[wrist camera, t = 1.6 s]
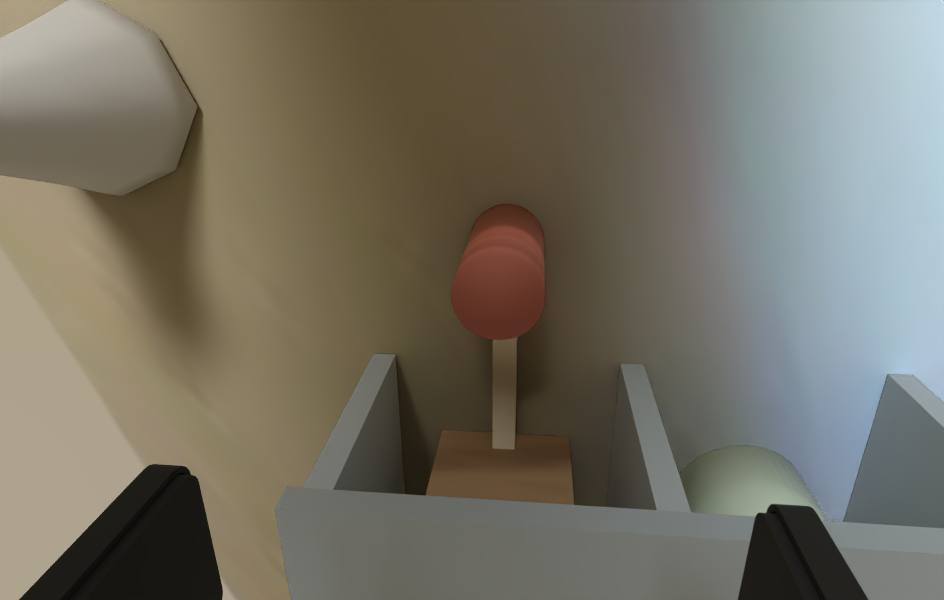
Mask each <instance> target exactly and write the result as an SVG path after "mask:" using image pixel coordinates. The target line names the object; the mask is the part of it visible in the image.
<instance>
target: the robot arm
mask: <svg viewBox="0 0 944 600" xmlns="http://www.w3.org/2000/svg"><path fill="white" fill-rule="evenodd" d="M222 595H223V590H222V584H221V579H220V575H219V571H218V566H217V562H216V557H215V553H214V548H213V544H212V539H211V535H210V530H209V526H208V521H207V517H206V512H205V508H204V503H203V499H202V495H201V490H200V486H199V482H198V479H197V478H196V477H195V476H193V475H191V474H190V471H189V470H188V469H187V467H184V466H173V465H158V464H153V465H149V466H148V467H146V468H145V469H144V470H143V471H142V472H141V473H140V474H139V475H138V476H137V477H136V478H135V480H133V482H131V483H130V485H129V486H128V487H127V488H126V489H125V490H124V491H123V492H122V493H121V494H120V495H119V496H118V497H117V498H116V499H115V500H114V501H113V502H112V503H111V504H110V505H109V506H108V507H107V509H106V510H105V511H104V512H103V513H102V514H101V515H100V516H99V517H98V518H97V519H96V520H95V521H94V522H93V523H92V524H91V525H90V526H89V527H88V528H87V530H85V532H84V533H83V534H82V535H81V536H80V537H79V538H78V539H77V540H76V541H75V542H74V543H73V544H72V545H71V546H70V547H69V548H68V549H67V550H66V551H65V552H64V553H63V555H61V557H60V558H59V559H58V560H57V561H56V562H55V563H54V564H53V565H52V566H51V567H50V568H49V569H48V570H47V571H46V572H45V573H44V574H43V575H42V576H41V577H40V579H39V580H38V581H37V582H36V583H35V584H34V585H33V586H32V587H31V588H30V589H29V590H28V591H27V592H26V593H25V594H24V595H23V596H22V597H21V598H20V599H19V600H222ZM738 600H868V598H867V596H866V595H865V593H864V591H863V590H862V588H861V586H860V585H859V583H858V581H857V580H856V578H855V576H854V575H853V573H852V571H851V570H850V568H849V566H848V564H847V563H846V561H845V559H844V558H843V556H842V554H841V553H840V551H839V549H838V548H837V546H836V544H835V543H834V541H833V539H832V538H831V536H830V534H829V533H828V531H827V529H826V528H825V526H824V524H823V523H822V521H821V519H820V518H819V516H818V514H817V513H816V511H815V510H814V509H813V508H812V507H810V506H800V505H784V504H770V506H769V507H768V509H767V512H766V513H758V514H757V515H756V517H755V521H754V525H753V530H752V535H751V539H750V544H749V549H748V553H747V558H746V563H745V568H744V572H743V577H742V582H741V586H740V591H739V596H738Z"/></svg>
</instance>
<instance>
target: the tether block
mask: <svg viewBox="0 0 944 600" xmlns="http://www.w3.org/2000/svg"><path fill="white" fill-rule="evenodd" d="M451 301H452V306H453V309H454V312H455V314H456V316H457V318H458V319H459V320H460V322H461V323H462V324H463V325H464V326H465V327H466V328H467V329H468V330H470V331H471V332H473V333H474V334H476V335H478V336H481V337H484V338H487V339H491V340H493V431H492V433H491V432H472V431H453V430H442V432H441V436H440V440H439V444H438V448H437V452H436V456H435V460H434V464H433V468H432V472H431V476H430V480H429V483H428V487H427V491H426V495H425V496H440V497H456V498H472V499H488V500H503V501H519V502H535V503H551V504H566V505H574V496H573V482H572V468H571V455H570V441H569V437H568V436H549V435H530V434H515V428H516V379H517V337H518V336H521V335H522V334H524V333H526V332H527V331H529V330H530V329H531V328H532V327H533V326H534V325H535V324H536V323H537V322H538V320H539V319H540V317H541V315H542V312H543V310H544V306H545V260H544V234H543V230H542V227H541V225H540V223H539V221H538V220H537V218H536V217H535V216H534V215H533V214H532V213H531V212H529V211H528V210H526V209H524V208H522V207H519V206H516V205H508V204H507V205H498V206H495V207H492V208H490V209H488V210H487V211H485V212H484V213H483V214H482V215H481V216H480V217H479V218H478V219H477V221H476V222H475V224H474V226H473V229H472V231H471V234H470V237H469V240H468V243H467V245H466V248H465V251H464V254H463V257H462V260H461V262H460V265H459V268H458V271H457V274H456V276H455V279H454V282H453V285H452V290H451Z"/></svg>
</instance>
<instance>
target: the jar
mask: <svg viewBox="0 0 944 600" xmlns="http://www.w3.org/2000/svg"><path fill="white" fill-rule="evenodd" d="M679 476H680V479H681V482H682V485H683V488H684V491H685V495H686V498H687V501H688V504H689V507H690V510H691V512H693V513H708V514H724V515H740V516H756V515H757V514H758V513H766V512H767V509H768V507H769V506H770V504H784V505H800V506H810V507H812V508H813V509H814V510H815V511H816V513H817V514H818V516H819V518H820V519H821V521H828V520H827V519H826V517H825V515H824V514H823V512H822V510H821V509H820V507H819V505H818V504H817V502H816V500H815V499H814V497H813V495H812V494H811V492H810V490H809V489H808V487H807V485H806V484H805V482H804V480H803V479H802V477H801V475H800V474H799V472H798V470H797V469H796V468H795V467H794V465H793V464H792V463H791V462H790V461H788V460H787V459H786V458H784V457H783V456H781V455H780V454H778V453H776V452H774V451H771V450H768V449H765V448H761V447H756V446H730V447H725V448H720V449H717V450H714V451H711V452H709V453H706V454H704V455H702V456H700V457H699V458H697V459H695V460H694V461H693V462H691V463H690V464H689V465H688V466H687V467H686V468H685V469H684V470H683V471H682V472H681V473H680V475H679Z"/></svg>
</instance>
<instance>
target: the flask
mask: <svg viewBox="0 0 944 600" xmlns="http://www.w3.org/2000/svg"><path fill="white" fill-rule="evenodd" d="M196 110H197V105H196V103H195V101H194V100H193V98H192V96H191V94H190V93H189V91H188V89H187V87H186V86H185V84H184V82H183V80H182V79H181V77H180V75H179V73H178V72H177V70H176V68H175V66H174V65H173V63H172V61H171V59H170V58H169V56H168V54H167V52H166V51H165V49H164V47H163V45H162V43H161V42H160V40H159V38H158V36H157V35H156V33H154V32H152V31H150V30H149V29H147V28H145V27H144V26H142V25H140V24H138V23H137V22H135V21H133V20H131V19H130V18H128V17H126V16H125V15H123V14H121V13H119V12H118V11H116V10H114V9H112V8H111V7H109V6H107V5H106V4H104V3H102V2H100V1H99V0H68V1H66V2H65V3H63V4H61V5H60V6H58V7H56V8H54V9H53V10H51V11H49V12H47V13H46V14H44V15H42V16H40V17H39V18H37V19H35V20H34V21H32V22H30V23H28V24H27V25H25V26H23V27H21V28H19V29H17V30H15V31H13V32H11V33H9V34H7V35H5V36H3V37H1V38H0V175H3V176H10V177H16V178H23V179H29V180H36V181H42V182H49V183H55V184H61V185H66V186H71V187H76V188H81V189H85V190H90V191H95V192H100V193H105V194H111V195H118V196H124V195H126V194H128V193H130V192H132V191H134V190H136V189H138V188H140V187H142V186H144V185H146V184H148V183H150V182H152V181H154V180H156V179H158V178H160V177H163V176H165V175H167V174H169V173H171V172H173V171H175V170H176V168H177V165H178V162H179V159H180V156H181V153H182V151H183V148H184V145H185V142H186V139H187V136H188V133H189V130H190V127H191V124H192V121H193V119H194V116H195V113H196Z"/></svg>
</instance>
